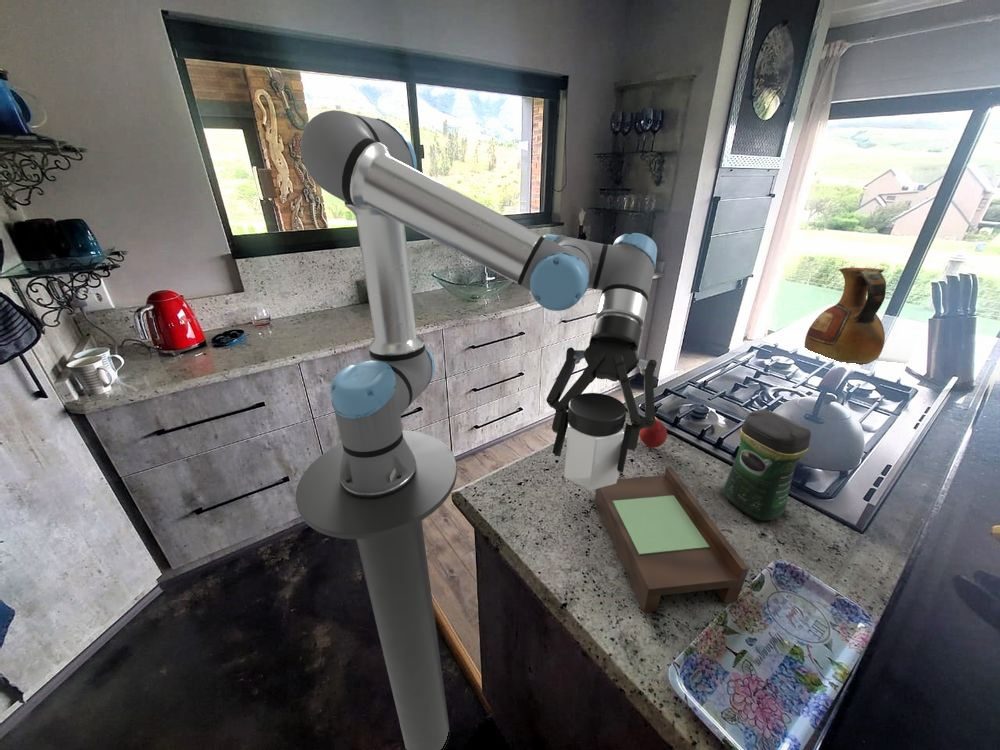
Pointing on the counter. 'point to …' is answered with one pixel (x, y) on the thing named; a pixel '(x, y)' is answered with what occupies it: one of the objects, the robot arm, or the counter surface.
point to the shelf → (668, 540)
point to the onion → (654, 435)
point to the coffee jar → (765, 464)
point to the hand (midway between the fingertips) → (587, 462)
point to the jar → (594, 440)
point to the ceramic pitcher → (852, 320)
